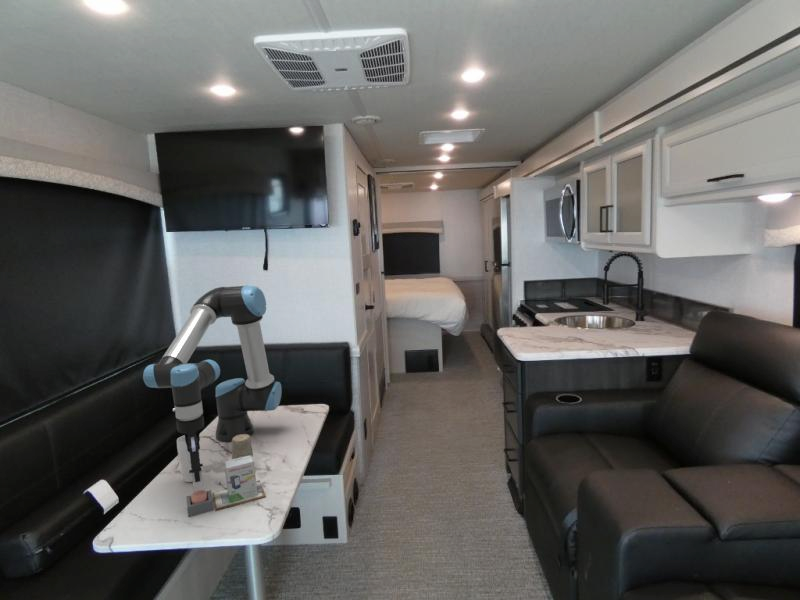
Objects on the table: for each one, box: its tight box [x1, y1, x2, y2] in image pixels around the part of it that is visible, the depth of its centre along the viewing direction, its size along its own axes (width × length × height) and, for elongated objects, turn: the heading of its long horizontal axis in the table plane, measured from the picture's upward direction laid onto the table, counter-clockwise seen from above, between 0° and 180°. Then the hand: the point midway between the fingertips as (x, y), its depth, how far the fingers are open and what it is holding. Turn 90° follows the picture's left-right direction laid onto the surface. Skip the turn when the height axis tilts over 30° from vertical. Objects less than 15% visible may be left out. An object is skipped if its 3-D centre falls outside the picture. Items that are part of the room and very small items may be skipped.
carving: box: [230, 434, 254, 460], centre depth 167 cm, size 6×8×12 cm
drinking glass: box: [176, 434, 193, 483], centre depth 161 cm, size 7×7×15 cm
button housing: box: [186, 490, 214, 518], centre depth 144 cm, size 7×7×3 cm
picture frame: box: [211, 479, 267, 512], centre depth 150 cm, size 11×15×1 cm
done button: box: [190, 489, 207, 505], centre depth 144 cm, size 4×4×4 cm
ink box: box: [224, 456, 258, 503], centre depth 148 cm, size 9×5×12 cm, turn 116°
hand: (198, 489), depth 144 cm, fingers closed
